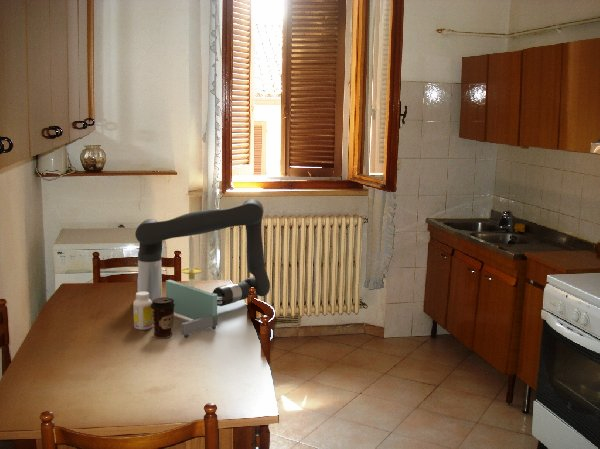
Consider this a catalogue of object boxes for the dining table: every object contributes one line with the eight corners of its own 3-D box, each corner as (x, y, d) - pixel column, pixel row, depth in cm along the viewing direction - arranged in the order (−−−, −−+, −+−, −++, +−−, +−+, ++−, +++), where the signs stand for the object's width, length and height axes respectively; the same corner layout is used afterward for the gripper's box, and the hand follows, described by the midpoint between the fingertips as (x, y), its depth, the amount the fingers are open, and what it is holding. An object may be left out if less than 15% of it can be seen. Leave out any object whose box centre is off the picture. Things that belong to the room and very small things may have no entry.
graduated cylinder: (194, 288, 298) (194, 227, 293) (208, 293, 291) (208, 231, 286) (175, 292, 292) (174, 230, 287) (188, 297, 284) (187, 234, 279)
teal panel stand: (137, 320, 254) (137, 287, 252) (170, 311, 265) (170, 279, 263) (184, 339, 236) (183, 303, 234) (217, 329, 247) (217, 294, 245)
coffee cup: (180, 333, 242) (180, 298, 239) (166, 341, 234) (166, 304, 232) (160, 329, 245) (159, 295, 243) (146, 337, 238) (145, 301, 236)
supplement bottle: (155, 324, 251) (154, 291, 248) (149, 330, 244) (148, 296, 242) (137, 323, 251) (136, 290, 249) (131, 329, 245) (130, 295, 242)
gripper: (216, 282, 271) (181, 290, 259) (239, 288, 263) (204, 297, 250) (216, 300, 273) (181, 309, 260) (238, 307, 264) (204, 317, 251)
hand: (192, 303), depth 255 cm, fingers closed
